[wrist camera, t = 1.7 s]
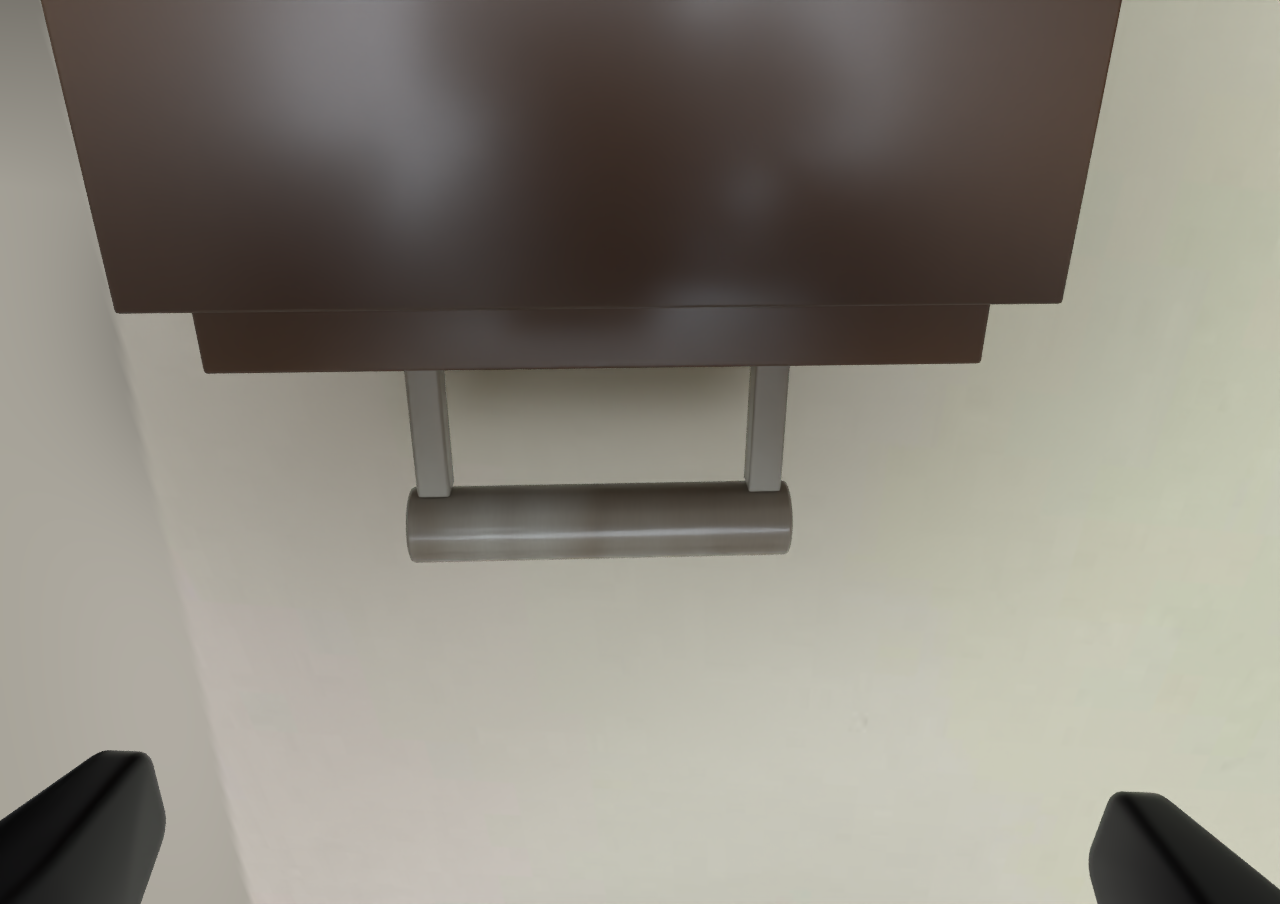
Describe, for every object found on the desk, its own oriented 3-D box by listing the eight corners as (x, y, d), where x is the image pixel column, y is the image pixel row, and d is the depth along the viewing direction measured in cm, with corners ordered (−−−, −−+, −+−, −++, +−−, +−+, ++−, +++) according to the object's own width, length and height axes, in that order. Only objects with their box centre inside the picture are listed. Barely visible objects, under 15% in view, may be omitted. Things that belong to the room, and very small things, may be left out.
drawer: (844, 450, 23) (938, 624, 17) (347, 459, 22) (257, 641, 16) (958, -632, 15) (1218, -1058, 9) (191, -657, 14) (-104, -1131, 8)
